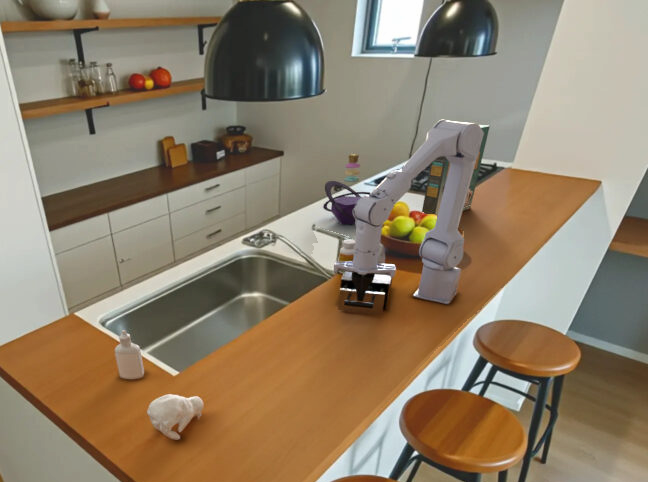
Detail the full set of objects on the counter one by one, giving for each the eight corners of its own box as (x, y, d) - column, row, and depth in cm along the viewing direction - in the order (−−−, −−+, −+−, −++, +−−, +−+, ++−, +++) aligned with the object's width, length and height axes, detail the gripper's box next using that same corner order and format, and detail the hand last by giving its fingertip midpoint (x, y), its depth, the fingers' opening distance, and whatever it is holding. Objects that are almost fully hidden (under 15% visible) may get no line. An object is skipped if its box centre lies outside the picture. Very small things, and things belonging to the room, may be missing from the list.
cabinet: (385, 310, 128) (389, 284, 123) (338, 304, 132) (341, 279, 128) (390, 289, 138) (394, 264, 133) (347, 284, 142) (349, 260, 138)
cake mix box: (456, 205, 197) (474, 124, 180) (470, 208, 192) (489, 125, 175) (421, 216, 188) (436, 132, 171) (434, 219, 184) (451, 134, 167)
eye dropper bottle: (134, 384, 108) (125, 338, 101) (117, 376, 110) (107, 331, 104) (147, 374, 110) (139, 329, 104) (130, 367, 113) (121, 323, 107)
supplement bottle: (356, 274, 147) (359, 244, 142) (338, 274, 148) (340, 244, 143) (355, 268, 152) (358, 238, 146) (337, 267, 153) (340, 238, 147)
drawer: (379, 324, 120) (382, 303, 117) (334, 318, 124) (336, 297, 121) (386, 294, 133) (389, 275, 130) (345, 290, 137) (347, 271, 134)
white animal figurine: (142, 397, 89) (189, 374, 96) (145, 433, 93) (190, 408, 100) (164, 411, 85) (212, 386, 92) (166, 448, 89) (212, 421, 96)
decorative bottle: (366, 234, 176) (375, 162, 162) (312, 228, 185) (315, 160, 171) (381, 216, 192) (390, 149, 178) (330, 212, 201) (334, 148, 187)
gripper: (333, 251, 114) (328, 302, 122) (397, 256, 109) (388, 309, 117) (338, 241, 119) (334, 291, 127) (399, 246, 114) (391, 297, 122)
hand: (360, 299), depth 122 cm, fingers closed, pressing on drawer
